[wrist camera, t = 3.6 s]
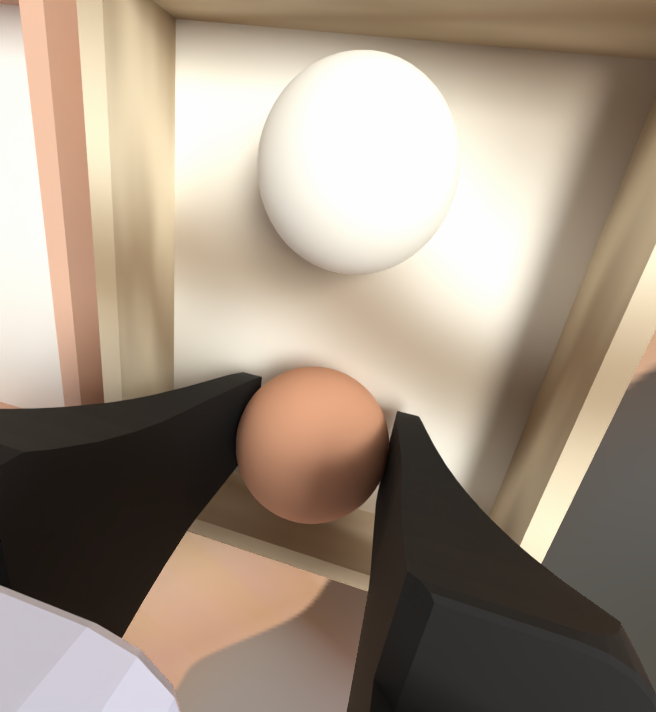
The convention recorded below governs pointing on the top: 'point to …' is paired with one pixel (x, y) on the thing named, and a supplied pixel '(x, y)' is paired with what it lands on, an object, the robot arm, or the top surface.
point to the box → (406, 280)
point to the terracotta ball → (312, 445)
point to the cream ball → (358, 162)
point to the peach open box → (45, 214)
